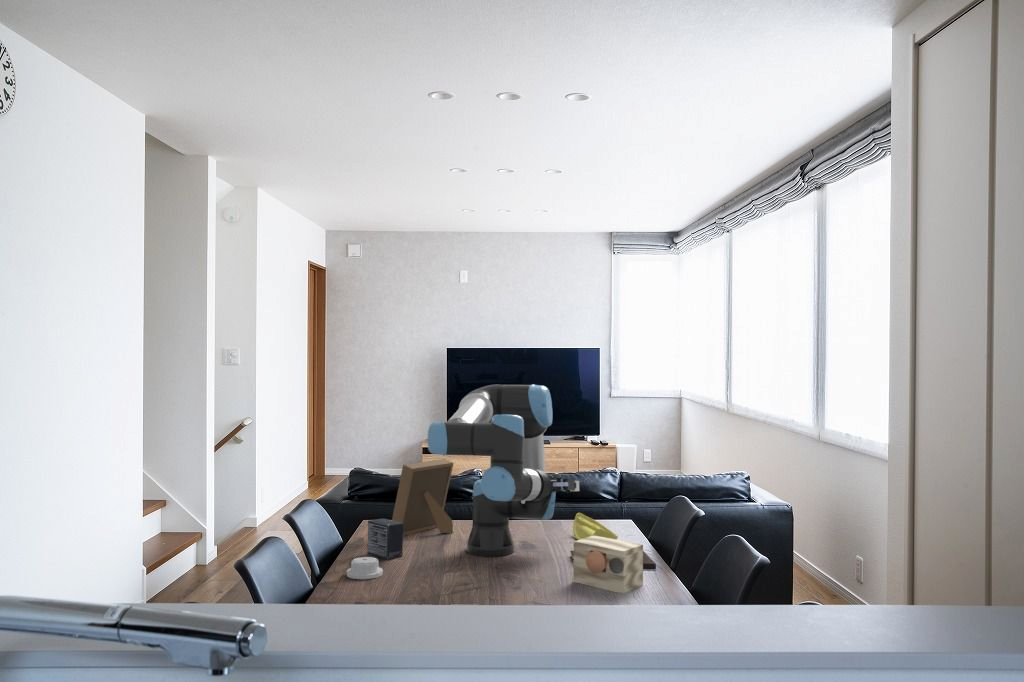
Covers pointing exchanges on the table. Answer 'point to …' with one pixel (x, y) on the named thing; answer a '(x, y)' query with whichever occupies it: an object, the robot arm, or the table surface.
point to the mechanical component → (364, 568)
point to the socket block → (610, 564)
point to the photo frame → (423, 497)
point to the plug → (596, 561)
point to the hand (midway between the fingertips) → (576, 486)
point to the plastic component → (590, 528)
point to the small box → (385, 538)
